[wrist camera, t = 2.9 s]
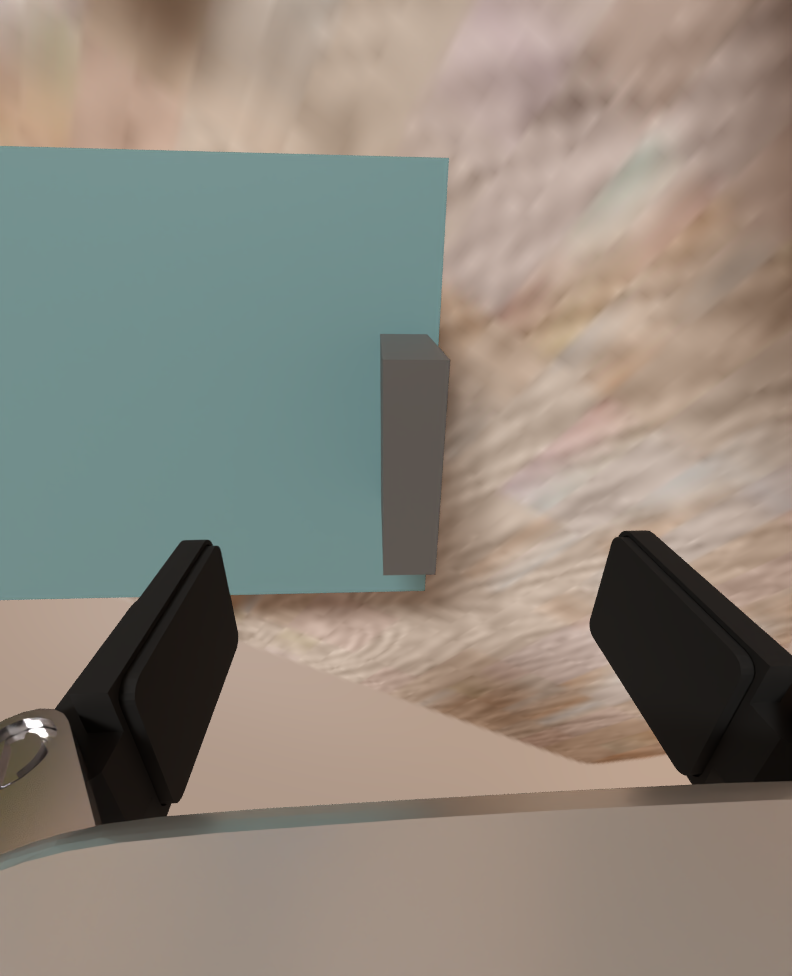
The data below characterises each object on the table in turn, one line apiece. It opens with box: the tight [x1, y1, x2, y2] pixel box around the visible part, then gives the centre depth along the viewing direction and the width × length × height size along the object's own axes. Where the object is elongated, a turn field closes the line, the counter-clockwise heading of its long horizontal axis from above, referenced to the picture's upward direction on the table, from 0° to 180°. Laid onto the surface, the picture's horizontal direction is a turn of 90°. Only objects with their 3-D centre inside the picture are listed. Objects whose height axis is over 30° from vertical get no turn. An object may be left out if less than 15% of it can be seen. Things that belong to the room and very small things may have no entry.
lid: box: [0, 146, 450, 600], centre depth 17 cm, size 25×20×7 cm
